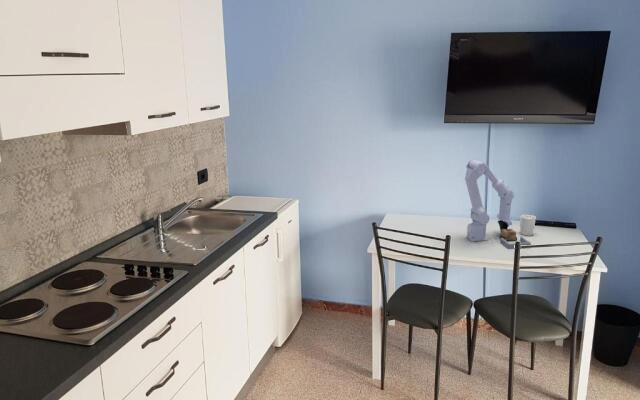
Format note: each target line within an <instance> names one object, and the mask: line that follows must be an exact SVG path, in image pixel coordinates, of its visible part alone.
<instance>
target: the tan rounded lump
mask: <svg viewBox="0 0 640 400" xmlns="http://www.w3.org/2000/svg"><path fill="white" fill-rule="evenodd" d="M498 238H499V240H500V239H501V238H503V239H504V240H506V241H517V240H518V237H517V231H516V230H515V229H513V228H507V229H502V230H501V231H500V234H499V237H498Z"/></svg>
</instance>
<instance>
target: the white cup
mask: <svg viewBox="0 0 640 400" xmlns="http://www.w3.org/2000/svg"><path fill="white" fill-rule="evenodd" d="M536 220H537V217H536V216H535V215H532V214H521V215H520V220H519V229H520V231H519V234H520V235H522V236H532V235H534V230H535V224H536Z"/></svg>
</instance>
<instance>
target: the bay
mask: <svg viewBox="0 0 640 400" xmlns="http://www.w3.org/2000/svg"><path fill="white" fill-rule="evenodd" d="M499 241H500V244H502V245H503V246H504V247H505V248H507V249H509V250H512V249H514V245H515V243H516V242H515V243H514V242H513V243H512V242H511V243H509V242H508V240H504V239H503V238H501V239H500V238H499ZM520 241H521V242H520ZM519 242H520V243H521V245H532V243H531V242H530V241H528V240H527V239H526V238H525V237H523V236H520V240H519ZM514 250H515V249H514Z"/></svg>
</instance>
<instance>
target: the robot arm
mask: <svg viewBox="0 0 640 400" xmlns="http://www.w3.org/2000/svg"><path fill="white" fill-rule="evenodd" d="M465 167H466V172H465V177H464V180H465V184H466V188H467V191H468V195H469V201H470V202H471V204H470V205H471V208H470V219H471V220H472V222H471V223H468V224H467V227H466V229H467V230H466V238H467V239H469V240H470V241H471V242H481V241H484V242H485V241H489V239H488V238H487V236H486V235H487V234H486V233H487V224H489V222H490V215H489V214H488V213H487V210H486V209H485V208H484V206H483V203H482V197H481V193H480V191H479V190H480V189H479V185H478V181H477V180H478V179H479V178H481V176H483V175H484V176H485V177H486V178H487V179H488V180H489V181H490V182H491V187H492V189H494V190H495V191H496V192H497V196H498V197H499V213H497V214H496V218H498V220H497V223H498V225H499V229H500V230H499V231H500V232H501V230H502V229H509V226H513V221H512V219H513V218H512V217H511V211H512V210H511V208H512V203H513V199H514V197H515V194H514V192H513V190H511V189H510V188H509V186H508V185H506V184H505V181H504V180H503V179H501V178H497V176H496V175H495V174H494V172H493V171H492V170H491V168H490V167H489V166H488V164H486V163H485V162H484V161H479V160H477V159H475V158H474V159H470V160H469V161H468V162H467V164H466V165H465Z"/></svg>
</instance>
